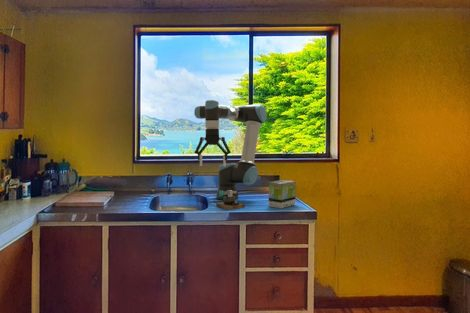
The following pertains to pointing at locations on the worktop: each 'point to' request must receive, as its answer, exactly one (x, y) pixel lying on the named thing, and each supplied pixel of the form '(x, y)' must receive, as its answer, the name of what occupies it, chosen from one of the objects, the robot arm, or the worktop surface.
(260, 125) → the robot arm
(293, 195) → the tea box
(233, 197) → the cam capstan
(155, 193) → the worktop surface
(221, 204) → the stand
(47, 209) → the worktop surface
